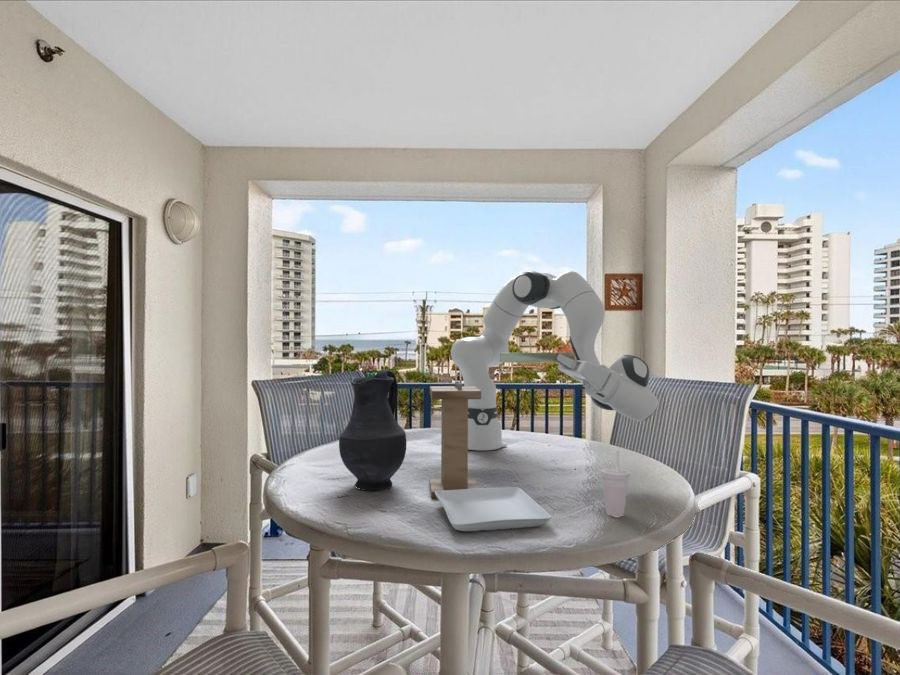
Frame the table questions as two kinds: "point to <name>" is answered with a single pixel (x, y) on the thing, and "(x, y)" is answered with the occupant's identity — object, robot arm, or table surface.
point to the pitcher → (373, 432)
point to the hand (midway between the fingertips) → (555, 355)
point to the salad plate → (491, 509)
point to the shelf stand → (454, 437)
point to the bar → (532, 357)
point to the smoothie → (615, 488)
